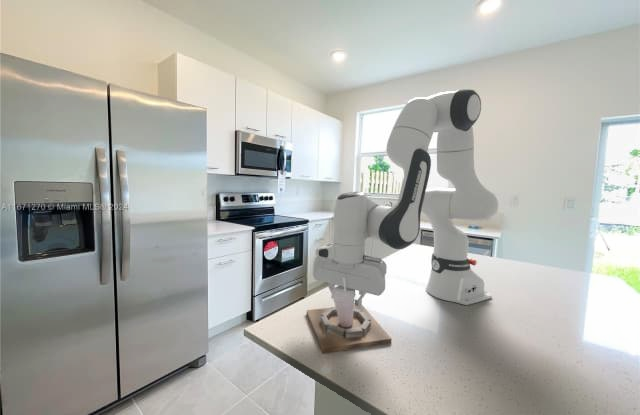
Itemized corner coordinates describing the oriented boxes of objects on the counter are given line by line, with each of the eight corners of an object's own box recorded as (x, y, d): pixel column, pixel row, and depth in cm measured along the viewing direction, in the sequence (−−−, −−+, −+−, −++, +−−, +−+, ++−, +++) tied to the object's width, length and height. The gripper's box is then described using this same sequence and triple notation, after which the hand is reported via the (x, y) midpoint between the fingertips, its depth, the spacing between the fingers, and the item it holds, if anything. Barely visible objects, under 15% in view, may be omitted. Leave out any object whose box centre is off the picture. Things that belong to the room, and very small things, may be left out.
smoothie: (357, 331, 66) (353, 283, 62) (332, 330, 67) (327, 283, 64) (358, 315, 72) (355, 270, 68) (336, 314, 73) (331, 270, 70)
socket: (361, 308, 81) (362, 300, 81) (391, 343, 64) (391, 332, 64) (306, 313, 76) (306, 305, 76) (322, 353, 59) (322, 342, 59)
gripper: (390, 256, 66) (387, 307, 67) (321, 244, 76) (320, 288, 77) (383, 262, 60) (380, 318, 62) (310, 249, 70) (309, 296, 72)
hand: (346, 301), depth 69 cm, fingers open, 5 cm apart
